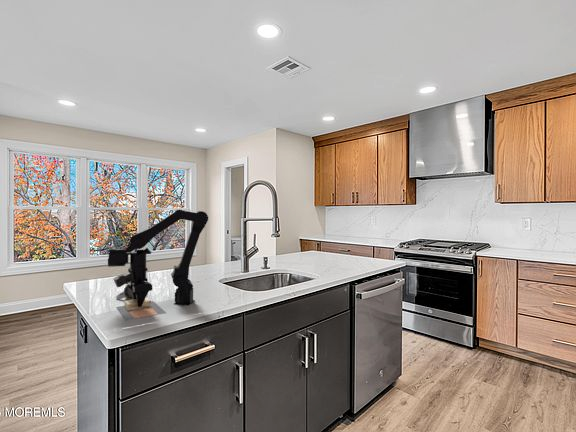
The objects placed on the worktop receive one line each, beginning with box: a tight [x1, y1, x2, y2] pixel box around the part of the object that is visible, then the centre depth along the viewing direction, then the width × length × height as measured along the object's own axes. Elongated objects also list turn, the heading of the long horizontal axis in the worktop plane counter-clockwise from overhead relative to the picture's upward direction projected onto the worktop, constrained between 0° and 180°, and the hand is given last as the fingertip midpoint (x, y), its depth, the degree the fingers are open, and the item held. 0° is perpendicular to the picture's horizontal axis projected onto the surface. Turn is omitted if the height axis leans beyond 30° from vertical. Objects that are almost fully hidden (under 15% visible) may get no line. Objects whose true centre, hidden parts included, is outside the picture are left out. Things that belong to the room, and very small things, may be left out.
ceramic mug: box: [115, 283, 134, 300], centre depth 136 cm, size 11×8×8 cm
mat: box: [115, 300, 167, 322], centre depth 120 cm, size 14×18×1 cm
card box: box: [124, 296, 152, 311], centre depth 124 cm, size 8×6×2 cm, turn 128°
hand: (137, 304), depth 124 cm, fingers closed on card box, 5 cm apart
